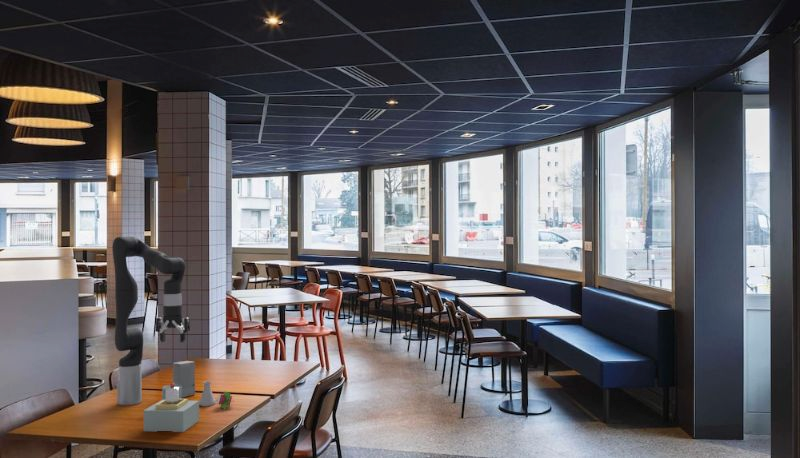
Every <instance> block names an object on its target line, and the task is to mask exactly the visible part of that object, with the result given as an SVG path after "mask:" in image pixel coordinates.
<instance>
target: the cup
mask: <svg viewBox="0 0 800 458" xmlns="http://www.w3.org/2000/svg"><path fill="white" fill-rule="evenodd" d="M169 386H170V384H168V385H163V386H162V388H161V389H162V390H161V397H162V399H161V400H165V398H166V387H169ZM175 386H179V399H182V398H181V385H175Z"/></svg>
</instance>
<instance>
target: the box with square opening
mask: <svg viewBox="0 0 800 458" xmlns="http://www.w3.org/2000/svg"><path fill="white" fill-rule="evenodd" d="M199 402H200V400H189V398H181V399H179V403H178V404H176V405H174V404H165V400H162V399H160V400H159V401H157V402H156V403H154V404H152V405H150V406H149V407H147V408H146V409H144V410H143V432H157V431H173V432H172V433H184V432H185V431H187V430H189V429H190V427H192V426H193V425H195V424H196V423H197V422H199V421H200V405H199Z"/></svg>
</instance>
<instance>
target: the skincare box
mask: <svg viewBox="0 0 800 458" xmlns="http://www.w3.org/2000/svg"><path fill="white" fill-rule="evenodd" d="M195 365H196V362H195V361H192V360H191V361H190V360H184V361H177V362H173V363H172V383H175V385H181V399H184V398H186V397H190V396H195V395H196V366H195Z"/></svg>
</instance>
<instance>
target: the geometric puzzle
mask: <svg viewBox="0 0 800 458" xmlns="http://www.w3.org/2000/svg"><path fill="white" fill-rule="evenodd" d="M232 399H233V396H232V392H227V391H223V393H221V394H218V395H217V396H216V399H215V401H216V404H218V406H219V408H222V409H228V407H230V406H231V404H232V402H233V403H234V400H232Z"/></svg>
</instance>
